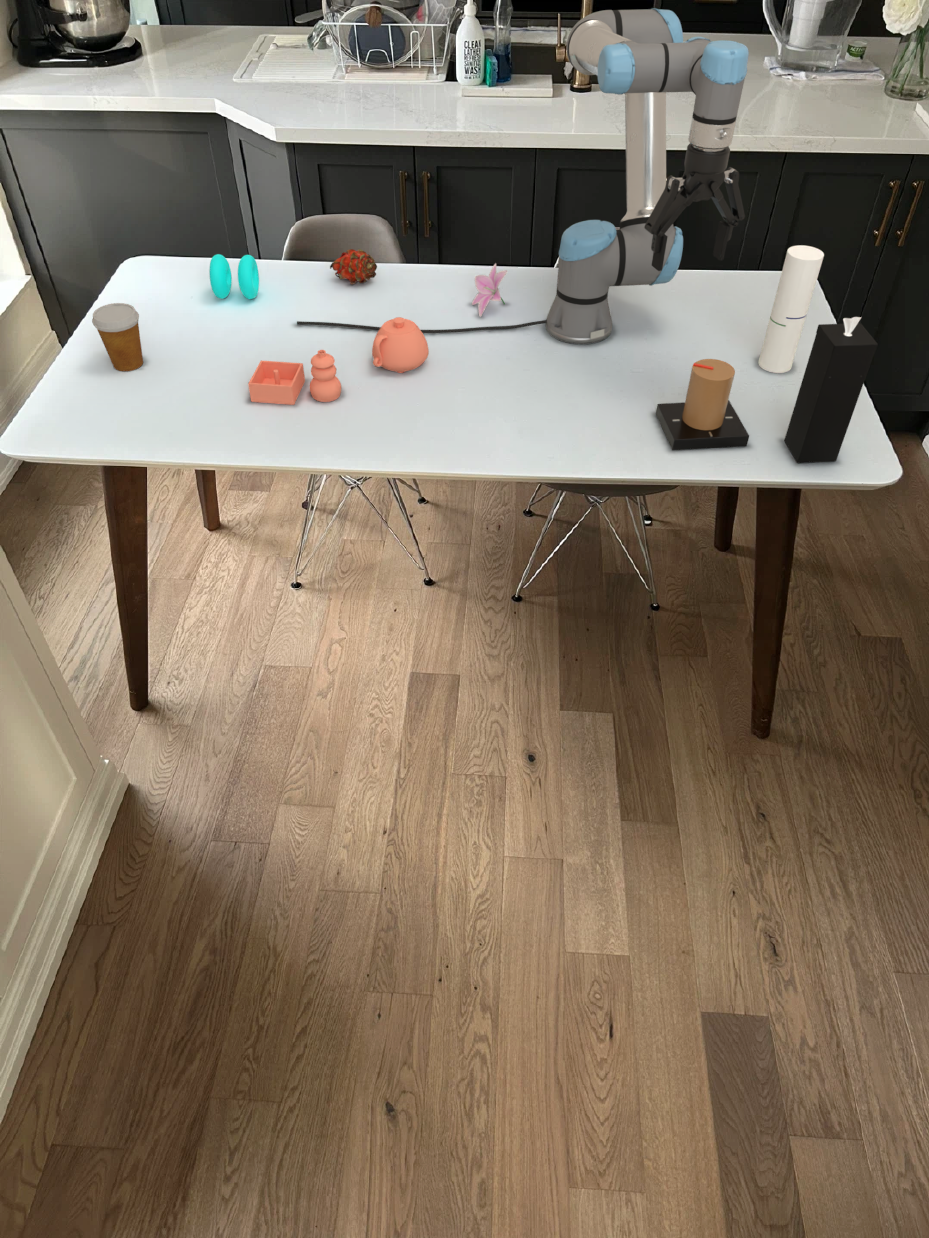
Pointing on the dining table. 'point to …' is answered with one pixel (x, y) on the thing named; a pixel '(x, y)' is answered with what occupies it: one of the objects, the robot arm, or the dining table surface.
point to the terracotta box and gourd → (294, 381)
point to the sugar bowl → (399, 346)
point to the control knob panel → (692, 438)
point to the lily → (488, 288)
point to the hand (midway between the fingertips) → (687, 263)
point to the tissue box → (829, 390)
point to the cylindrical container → (790, 308)
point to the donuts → (223, 279)
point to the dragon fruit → (354, 266)
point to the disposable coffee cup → (120, 335)
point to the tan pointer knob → (708, 394)
